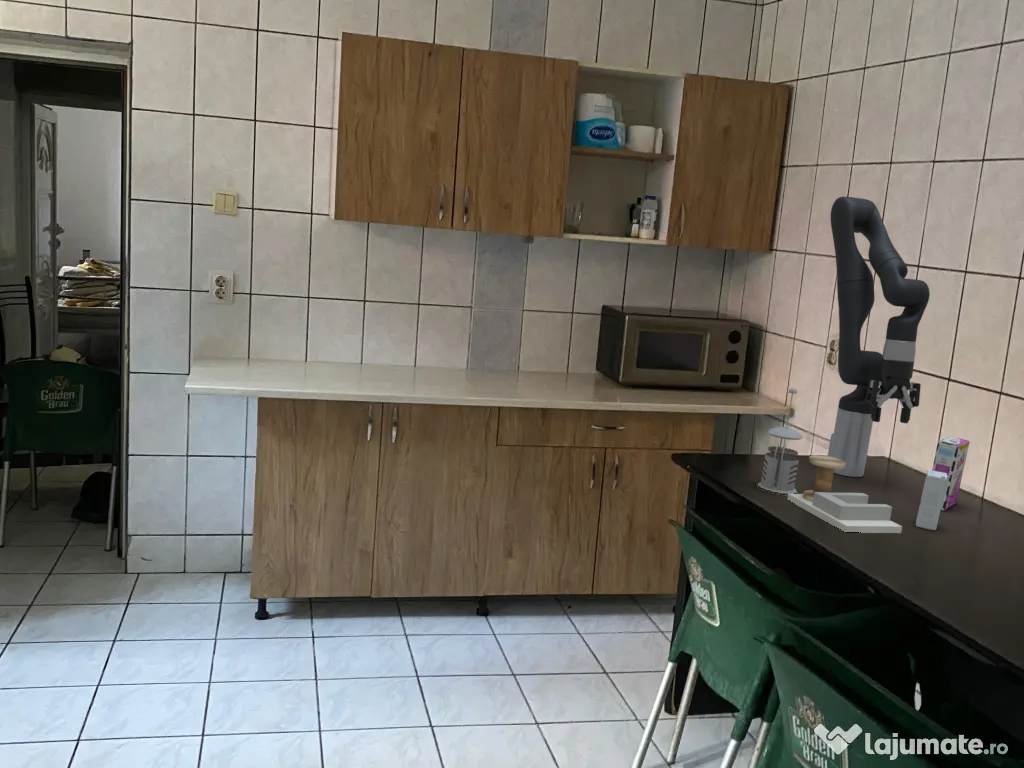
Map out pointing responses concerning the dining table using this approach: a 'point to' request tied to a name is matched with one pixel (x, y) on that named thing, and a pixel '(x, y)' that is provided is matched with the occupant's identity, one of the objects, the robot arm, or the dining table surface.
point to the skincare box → (931, 500)
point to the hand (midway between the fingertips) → (889, 422)
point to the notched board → (846, 523)
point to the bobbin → (823, 474)
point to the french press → (781, 461)
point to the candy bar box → (951, 466)
